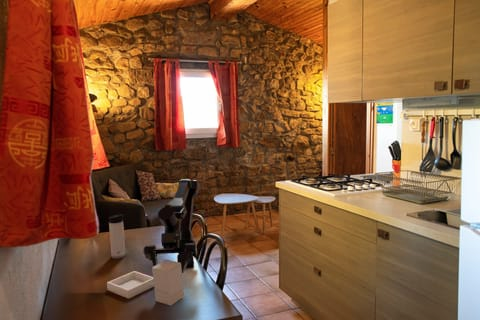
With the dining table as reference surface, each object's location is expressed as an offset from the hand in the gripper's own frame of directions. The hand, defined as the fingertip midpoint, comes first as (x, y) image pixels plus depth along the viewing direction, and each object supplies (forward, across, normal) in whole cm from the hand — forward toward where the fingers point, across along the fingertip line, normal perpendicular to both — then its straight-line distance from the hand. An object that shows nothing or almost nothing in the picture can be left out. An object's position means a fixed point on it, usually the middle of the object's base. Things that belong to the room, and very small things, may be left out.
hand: (169, 273), depth 132 cm
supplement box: (+7, 0, +6) cm, 9 cm away
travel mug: (-26, -31, +38) cm, 55 cm away
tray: (-1, -16, +14) cm, 21 cm away
